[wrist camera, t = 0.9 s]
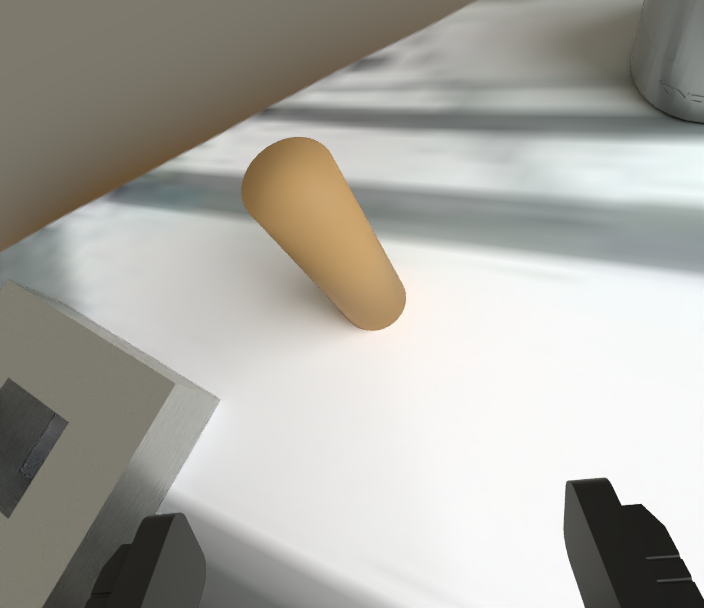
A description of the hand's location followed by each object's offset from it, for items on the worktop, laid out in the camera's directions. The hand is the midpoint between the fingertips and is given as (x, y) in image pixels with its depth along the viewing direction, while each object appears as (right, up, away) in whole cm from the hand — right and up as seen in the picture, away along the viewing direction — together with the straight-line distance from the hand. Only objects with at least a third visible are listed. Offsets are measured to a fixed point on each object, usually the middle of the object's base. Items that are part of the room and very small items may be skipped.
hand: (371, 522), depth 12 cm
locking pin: (+1, +5, +23) cm, 23 cm away
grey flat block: (-19, -5, +25) cm, 32 cm away
